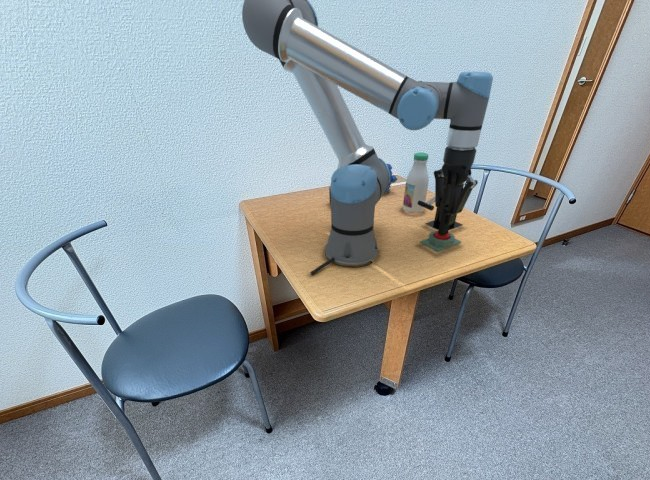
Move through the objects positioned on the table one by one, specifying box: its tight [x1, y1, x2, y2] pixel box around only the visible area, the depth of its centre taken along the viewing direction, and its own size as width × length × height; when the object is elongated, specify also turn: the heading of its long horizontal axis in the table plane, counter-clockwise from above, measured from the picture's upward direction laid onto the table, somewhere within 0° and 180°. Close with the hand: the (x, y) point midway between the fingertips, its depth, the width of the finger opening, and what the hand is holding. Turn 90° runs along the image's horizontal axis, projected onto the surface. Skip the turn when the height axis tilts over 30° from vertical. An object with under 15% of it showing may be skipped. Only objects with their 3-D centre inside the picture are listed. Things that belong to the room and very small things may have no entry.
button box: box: [419, 229, 462, 253], centre depth 97 cm, size 10×7×4 cm
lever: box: [417, 196, 435, 212], centre depth 100 cm, size 13×6×2 cm, turn 123°
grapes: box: [385, 163, 398, 194], centre depth 131 cm, size 12×7×12 cm, turn 165°
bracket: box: [424, 183, 465, 231], centre depth 104 cm, size 10×8×15 cm
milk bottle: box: [402, 152, 430, 214], centre depth 113 cm, size 8×8×20 cm
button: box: [434, 230, 450, 240], centre depth 97 cm, size 4×4×2 cm
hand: (442, 233), depth 96 cm, fingers closed
